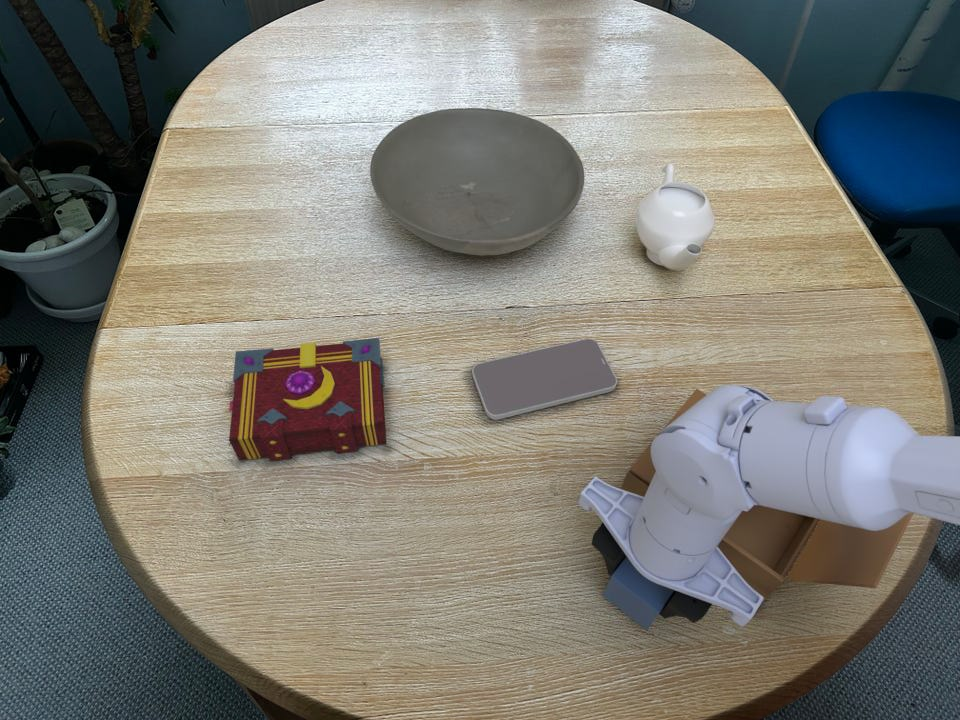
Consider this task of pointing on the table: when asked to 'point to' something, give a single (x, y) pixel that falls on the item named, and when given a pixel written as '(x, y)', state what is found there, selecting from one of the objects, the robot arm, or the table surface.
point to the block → (636, 594)
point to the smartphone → (543, 378)
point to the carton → (744, 528)
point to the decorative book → (307, 400)
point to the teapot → (674, 222)
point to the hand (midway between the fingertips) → (642, 587)
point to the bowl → (477, 179)
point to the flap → (847, 554)
